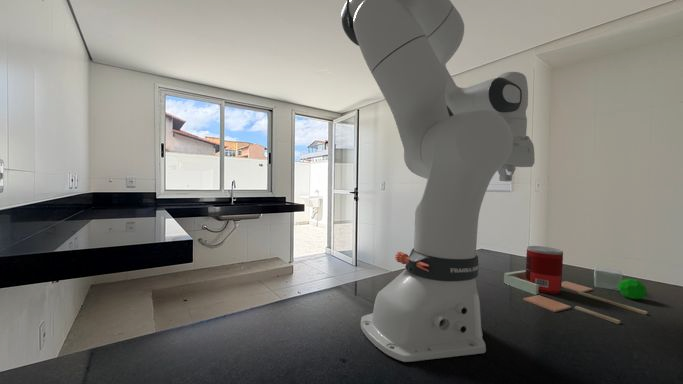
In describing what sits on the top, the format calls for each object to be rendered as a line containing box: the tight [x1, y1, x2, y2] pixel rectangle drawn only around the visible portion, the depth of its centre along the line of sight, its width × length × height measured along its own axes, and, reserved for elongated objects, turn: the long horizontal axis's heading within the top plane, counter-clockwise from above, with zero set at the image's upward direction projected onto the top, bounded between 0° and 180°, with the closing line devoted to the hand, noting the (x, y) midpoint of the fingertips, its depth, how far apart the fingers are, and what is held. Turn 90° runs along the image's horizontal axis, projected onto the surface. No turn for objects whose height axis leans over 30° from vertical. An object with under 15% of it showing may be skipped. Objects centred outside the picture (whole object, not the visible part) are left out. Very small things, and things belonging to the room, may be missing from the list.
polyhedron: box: [618, 278, 648, 300], centre depth 72 cm, size 5×5×5 cm
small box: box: [593, 266, 623, 292], centre depth 80 cm, size 6×6×5 cm
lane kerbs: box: [574, 292, 648, 325], centre depth 65 cm, size 13×12×1 cm
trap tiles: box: [522, 280, 594, 313], centre depth 72 cm, size 26×11×1 cm, turn 114°
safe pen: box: [503, 269, 539, 296], centre depth 78 cm, size 13×9×3 cm
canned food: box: [525, 245, 564, 295], centre depth 76 cm, size 8×8×11 cm
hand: (505, 181), depth 80 cm, fingers closed
